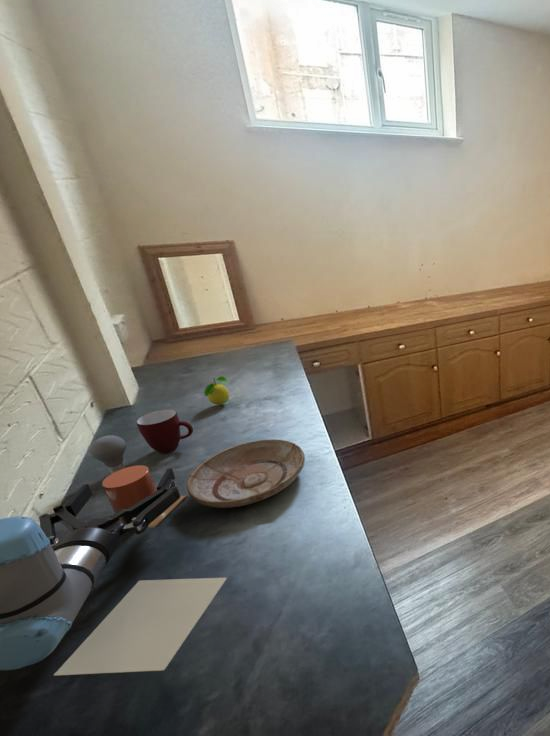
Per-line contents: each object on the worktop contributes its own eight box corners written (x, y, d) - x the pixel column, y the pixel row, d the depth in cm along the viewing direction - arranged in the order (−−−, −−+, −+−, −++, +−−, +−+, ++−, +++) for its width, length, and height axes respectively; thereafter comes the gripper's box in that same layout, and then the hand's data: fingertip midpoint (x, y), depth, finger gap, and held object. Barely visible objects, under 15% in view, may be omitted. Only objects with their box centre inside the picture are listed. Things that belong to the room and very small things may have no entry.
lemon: (232, 398, 134) (225, 371, 130) (234, 405, 129) (227, 377, 126) (207, 404, 130) (199, 376, 126) (209, 411, 125) (201, 383, 122)
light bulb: (110, 466, 99) (96, 432, 96) (139, 462, 101) (126, 429, 98) (95, 481, 94) (79, 446, 91) (126, 477, 96) (112, 442, 92)
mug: (199, 435, 113) (190, 404, 109) (195, 450, 107) (185, 417, 103) (152, 445, 108) (140, 413, 104) (144, 461, 102) (132, 428, 98)
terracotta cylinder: (109, 527, 81) (91, 488, 78) (137, 502, 88) (122, 465, 84) (145, 526, 82) (129, 487, 78) (170, 501, 88) (157, 464, 84)
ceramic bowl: (196, 538, 80) (189, 518, 78) (190, 477, 96) (184, 460, 95) (318, 489, 94) (315, 472, 92) (294, 443, 110) (291, 428, 109)
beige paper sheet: (55, 679, 56) (52, 675, 56) (140, 583, 70) (139, 580, 70) (165, 673, 57) (164, 670, 57) (228, 580, 71) (227, 577, 71)
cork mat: (90, 536, 79) (89, 534, 79) (135, 498, 90) (135, 496, 89) (148, 535, 80) (147, 533, 80) (186, 497, 90) (186, 495, 90)
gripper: (-22, 605, 61) (57, 511, 79) (177, 554, 71) (207, 480, 89) (-45, 570, 59) (42, 481, 77) (165, 521, 68) (198, 453, 86)
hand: (131, 481), depth 83 cm, fingers open, 13 cm apart
